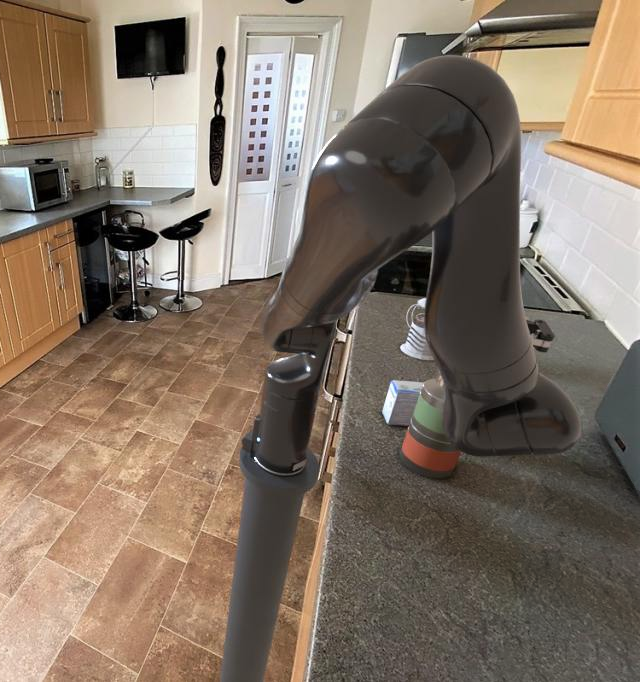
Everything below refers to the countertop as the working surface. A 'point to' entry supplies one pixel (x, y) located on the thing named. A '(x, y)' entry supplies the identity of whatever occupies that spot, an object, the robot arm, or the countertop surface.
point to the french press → (417, 337)
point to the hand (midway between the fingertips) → (481, 309)
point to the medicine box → (401, 402)
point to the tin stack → (429, 436)
